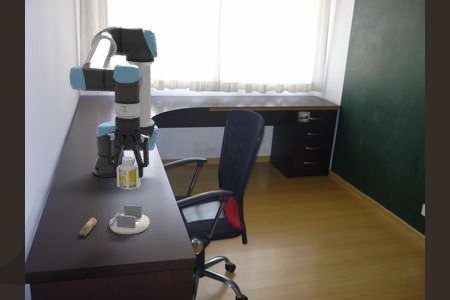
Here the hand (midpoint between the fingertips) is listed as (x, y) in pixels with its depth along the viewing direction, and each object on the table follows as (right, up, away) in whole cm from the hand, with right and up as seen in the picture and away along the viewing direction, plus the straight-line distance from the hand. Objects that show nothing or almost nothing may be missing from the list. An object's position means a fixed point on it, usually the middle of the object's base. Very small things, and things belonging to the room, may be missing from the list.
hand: (129, 185), depth 121 cm
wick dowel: (-14, -13, -1) cm, 19 cm away
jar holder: (-1, -14, +4) cm, 14 cm away
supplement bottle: (0, -1, 0) cm, 1 cm away
